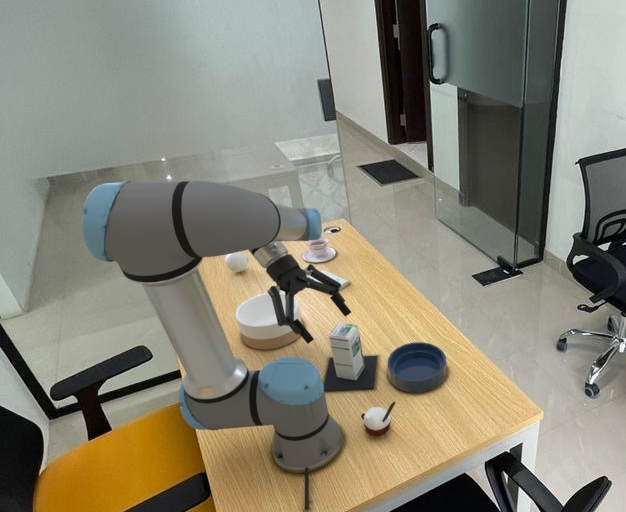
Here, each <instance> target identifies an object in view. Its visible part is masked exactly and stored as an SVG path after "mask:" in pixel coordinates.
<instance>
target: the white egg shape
mask: <svg viewBox="0 0 626 512" xmlns="http://www.w3.org/2000/svg"><path fill="white" fill-rule="evenodd" d="M224 263H225V265H226V268H227V269H229V271H232V272H234V273H241V272H243V271H246V269H247V267H248V265H249V258H248V256H247V255H246V254H245V253H244V252H243V251H240V252H236V253H232V254H227V255H225V259H224Z"/></svg>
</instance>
